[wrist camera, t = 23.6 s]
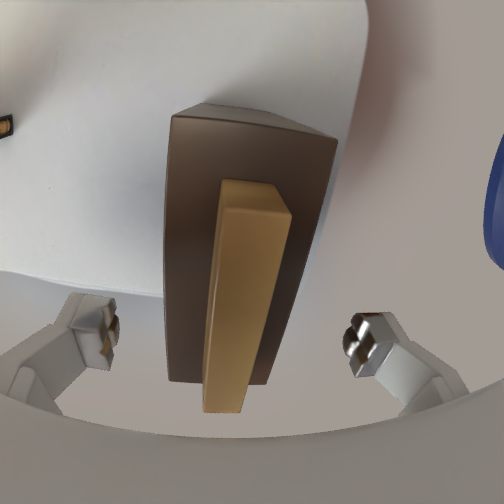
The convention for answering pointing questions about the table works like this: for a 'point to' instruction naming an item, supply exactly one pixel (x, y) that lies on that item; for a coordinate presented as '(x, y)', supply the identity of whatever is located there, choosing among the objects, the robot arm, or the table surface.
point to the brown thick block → (206, 208)
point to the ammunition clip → (5, 126)
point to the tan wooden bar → (240, 287)
